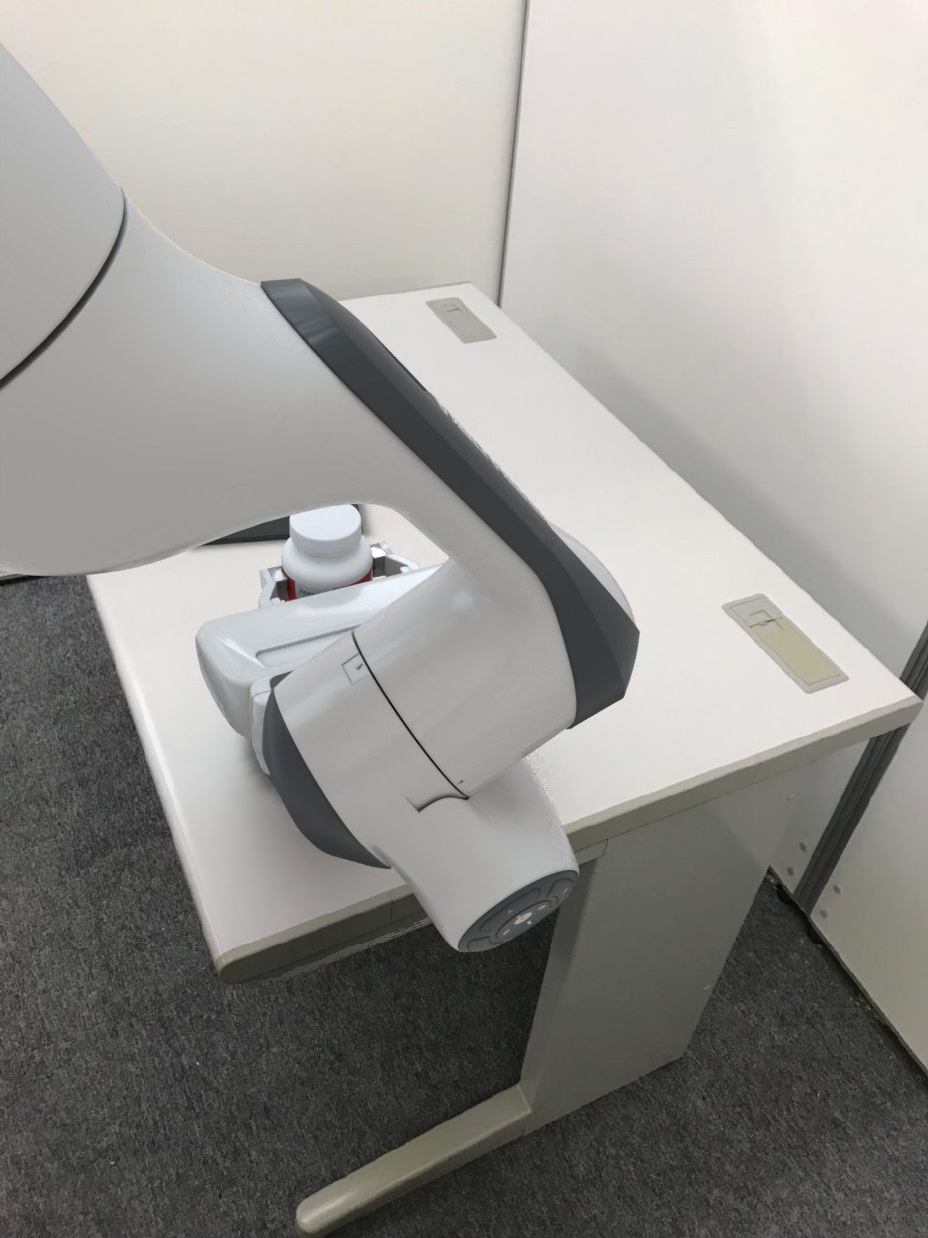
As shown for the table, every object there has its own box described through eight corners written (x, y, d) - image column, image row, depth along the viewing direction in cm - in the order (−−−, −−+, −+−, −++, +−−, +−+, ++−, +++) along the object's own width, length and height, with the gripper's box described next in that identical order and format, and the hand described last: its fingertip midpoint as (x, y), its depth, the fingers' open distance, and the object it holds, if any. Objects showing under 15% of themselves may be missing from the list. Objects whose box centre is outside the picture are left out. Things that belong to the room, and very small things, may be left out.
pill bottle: (289, 674, 68) (278, 549, 61) (285, 615, 72) (275, 493, 65) (377, 666, 69) (377, 543, 62) (368, 609, 73) (367, 488, 66)
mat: (195, 545, 92) (194, 540, 92) (195, 491, 99) (194, 486, 98) (362, 533, 95) (362, 528, 95) (352, 481, 102) (352, 476, 101)
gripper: (557, 617, 59) (461, 495, 68) (227, 710, 52) (168, 559, 61) (544, 688, 64) (456, 564, 73) (238, 783, 56) (182, 632, 65)
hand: (322, 563), depth 67 cm, fingers closed on pill bottle, 6 cm apart
